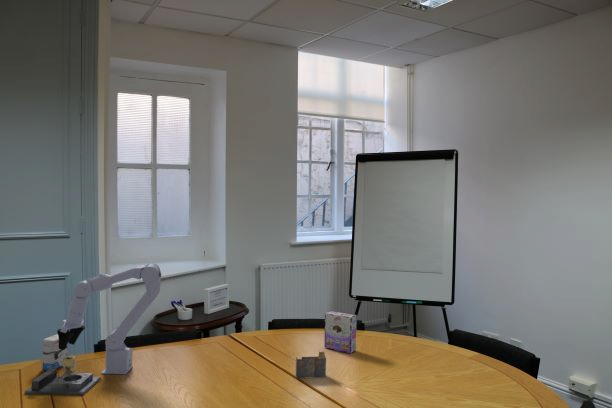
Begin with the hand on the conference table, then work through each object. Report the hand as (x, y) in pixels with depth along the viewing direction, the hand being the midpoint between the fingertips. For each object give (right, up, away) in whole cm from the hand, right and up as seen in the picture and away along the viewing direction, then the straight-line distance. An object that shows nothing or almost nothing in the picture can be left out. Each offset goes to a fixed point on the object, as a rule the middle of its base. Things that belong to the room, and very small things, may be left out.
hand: (66, 346), depth 183 cm
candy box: (+107, -12, +36) cm, 113 cm away
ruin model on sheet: (+93, -13, +2) cm, 94 cm away
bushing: (+1, -10, 0) cm, 10 cm away
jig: (+5, -11, -12) cm, 17 cm away
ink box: (-8, -10, +7) cm, 15 cm away
